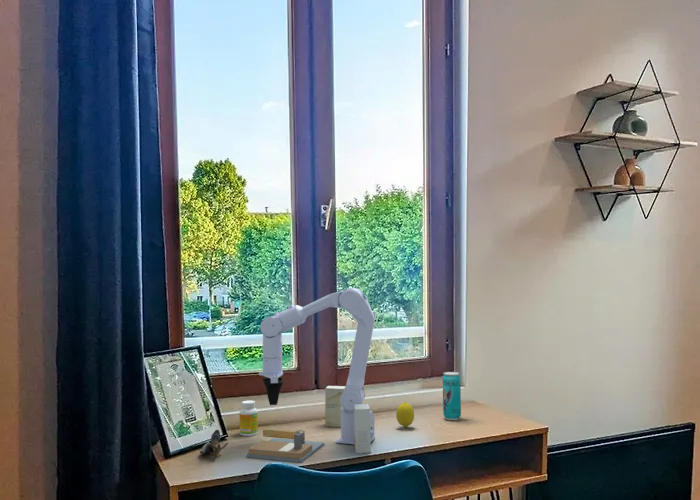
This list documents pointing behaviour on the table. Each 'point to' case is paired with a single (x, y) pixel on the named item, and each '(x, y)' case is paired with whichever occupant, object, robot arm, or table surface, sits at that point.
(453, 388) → the beverage can
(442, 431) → the table surface
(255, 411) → the supplement bottle
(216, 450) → the eagle figurine
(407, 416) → the lemon
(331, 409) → the skincare box
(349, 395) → the robot arm
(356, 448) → the skincare box
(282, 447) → the latch board
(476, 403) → the table surface
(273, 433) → the swing bar
